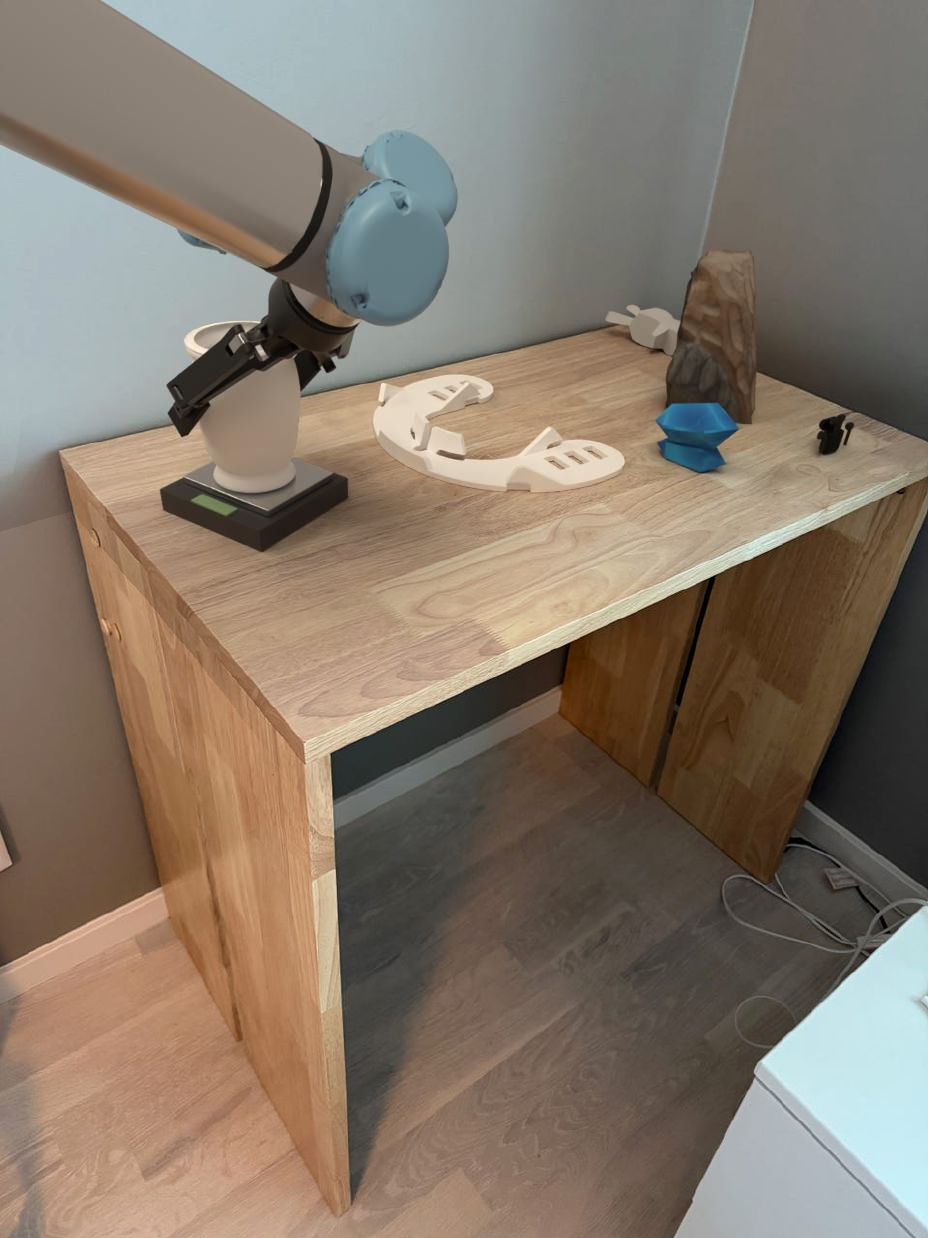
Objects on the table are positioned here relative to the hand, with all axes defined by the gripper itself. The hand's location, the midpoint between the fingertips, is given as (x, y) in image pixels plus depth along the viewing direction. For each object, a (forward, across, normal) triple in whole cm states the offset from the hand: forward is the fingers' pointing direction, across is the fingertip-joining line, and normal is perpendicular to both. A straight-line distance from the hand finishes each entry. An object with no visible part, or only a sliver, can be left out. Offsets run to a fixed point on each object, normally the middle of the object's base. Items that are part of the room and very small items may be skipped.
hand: (234, 405), depth 91 cm
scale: (+6, 0, -9) cm, 11 cm away
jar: (+3, 0, -7) cm, 8 cm away
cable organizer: (+2, +30, -13) cm, 33 cm away
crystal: (-14, +44, -29) cm, 55 cm away
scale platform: (+4, +1, -7) cm, 8 cm away
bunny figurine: (+4, +78, -11) cm, 79 cm away
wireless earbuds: (-22, +61, -37) cm, 74 cm away
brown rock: (-10, +61, -24) cm, 67 cm away
